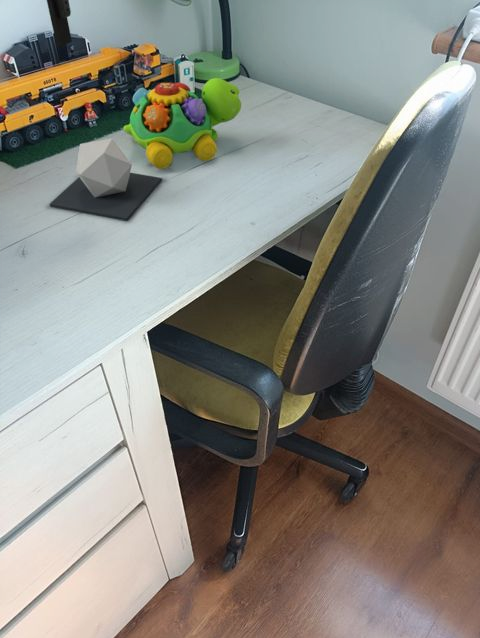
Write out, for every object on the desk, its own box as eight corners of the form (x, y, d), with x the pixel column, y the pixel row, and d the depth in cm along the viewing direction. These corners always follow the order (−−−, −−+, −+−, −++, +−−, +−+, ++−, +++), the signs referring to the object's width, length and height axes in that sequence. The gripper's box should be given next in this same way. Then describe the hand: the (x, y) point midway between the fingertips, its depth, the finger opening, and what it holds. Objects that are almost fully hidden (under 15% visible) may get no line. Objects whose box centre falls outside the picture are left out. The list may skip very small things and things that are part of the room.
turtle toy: (257, 154, 100) (258, 90, 92) (140, 176, 93) (130, 109, 84) (223, 121, 111) (222, 61, 102) (117, 138, 103) (105, 75, 95)
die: (129, 177, 93) (86, 131, 87) (152, 170, 86) (107, 119, 80) (100, 211, 90) (54, 166, 85) (121, 206, 83) (72, 157, 78)
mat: (50, 206, 85) (49, 203, 85) (91, 168, 94) (91, 165, 94) (127, 221, 83) (126, 218, 82) (162, 180, 92) (162, 177, 92)
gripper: (-156, -184, 57) (-74, 33, 72) (46, -170, 53) (87, 57, 68) (-105, -183, 62) (-38, 20, 77) (83, -170, 58) (114, 41, 73)
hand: (21, 37), depth 73 cm, fingers open, 13 cm apart
